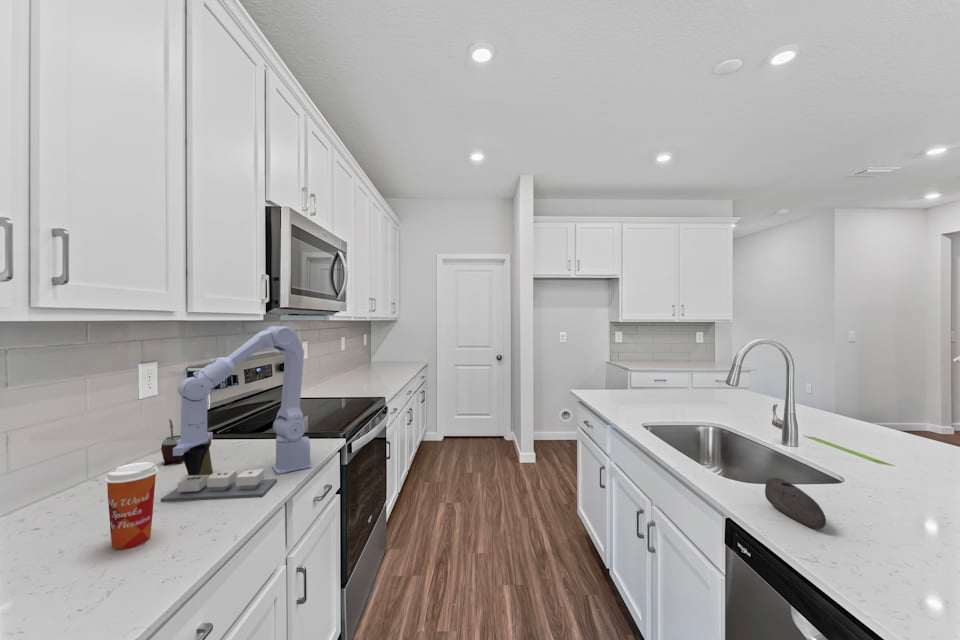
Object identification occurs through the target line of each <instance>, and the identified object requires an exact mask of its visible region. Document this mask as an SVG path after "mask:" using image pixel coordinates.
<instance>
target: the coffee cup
mask: <svg viewBox="0 0 960 640" xmlns="http://www.w3.org/2000/svg"><path fill="white" fill-rule="evenodd" d="M159 471H160V470H159V469H158V468H157V466H156V465H155V463H153V462H151V461H149V462H147V461H145V462H144V461H143V462H135V463H134V462H133V463H129V464H125V465H120V466H117V467H115V468H113V469H112V470H111V471H109V472H108V473H107V476H106V478H105V479H104V482H105V483H107V484H106V485H107V488H106V489H107V501H108V502H107V504H108V513H109V514H108V515H109V516H108V517H109V529H110V531H109V532H110V539H111V540H110V541H111V543H110V544H111V547H112V549H113V550H116V551H117V550H121V551H122V550H129V549H131V548H135V547H138V546H141V545H143V544H144V543H146V542H147V541H149V540H150V538H151V533H152V525H153V513H154V503H155V502H154V501H155V487H156V475H157V474H158V473H159Z"/></svg>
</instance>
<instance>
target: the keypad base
mask: <svg viewBox="0 0 960 640" xmlns="http://www.w3.org/2000/svg"><path fill="white" fill-rule="evenodd" d="M277 482H278V478H270V479H267V478H266V479H264V478H263V479H262V480H261V481H260V482H259V483H258V484H257V485H245V486H236V480H235V481H234V482H232V483H231V484H230V485H229V486H224V487H207V485H206V486H205V487H203V488H202V489H201V490H199V491H186V492H178V487H176V488H175V489H173V490H172V491H170V492H169V493H167V494H166V495H164V496H163V497H161V498H160V503H165V502H166V503H167V502H186V501H187V502H188V501H209V500H210V501H211V500H228V499H246V498H247V499H248V498H251V499H252V498H262V497H264V496H265V495H266V494H267V493H268V492H269V491H270V490H271V489H272V488H273V487H274V486H275V484H276V483H277Z"/></svg>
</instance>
